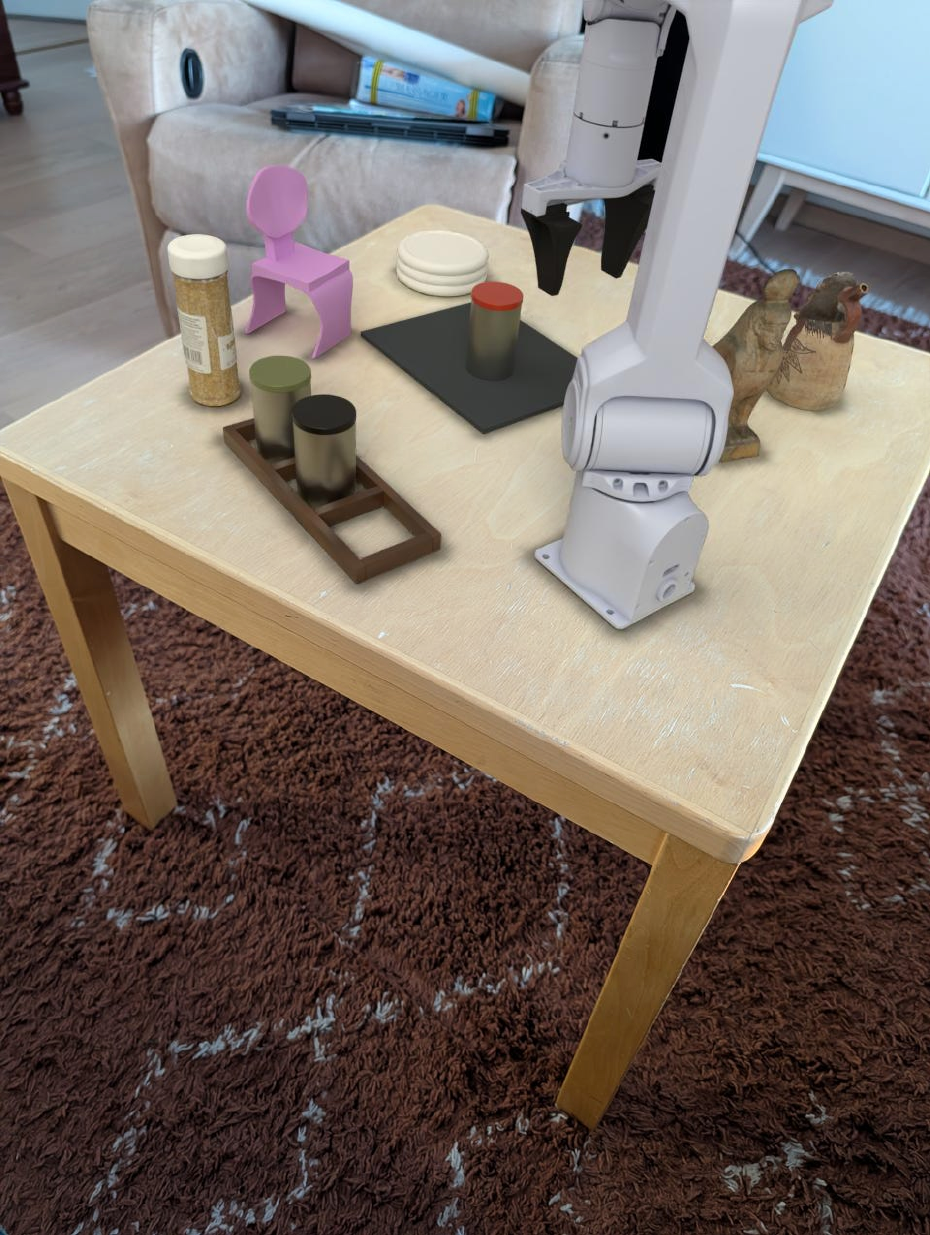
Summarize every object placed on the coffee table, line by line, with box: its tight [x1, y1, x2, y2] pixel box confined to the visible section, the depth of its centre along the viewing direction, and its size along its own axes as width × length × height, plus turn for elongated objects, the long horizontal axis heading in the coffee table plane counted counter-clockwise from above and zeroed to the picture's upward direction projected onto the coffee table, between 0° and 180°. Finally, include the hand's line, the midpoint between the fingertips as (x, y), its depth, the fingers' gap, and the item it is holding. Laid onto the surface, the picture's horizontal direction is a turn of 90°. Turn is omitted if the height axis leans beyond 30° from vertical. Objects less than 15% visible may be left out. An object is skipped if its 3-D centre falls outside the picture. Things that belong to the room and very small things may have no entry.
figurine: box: [766, 271, 869, 412], centre depth 86 cm, size 7×7×12 cm
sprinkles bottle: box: [167, 233, 242, 407], centre depth 77 cm, size 5×5×14 cm
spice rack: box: [222, 417, 442, 585], centre depth 72 cm, size 21×7×2 cm, turn 37°
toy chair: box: [244, 164, 354, 360], centre depth 85 cm, size 8×9×15 cm
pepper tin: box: [292, 393, 357, 510], centre depth 70 cm, size 5×5×8 cm
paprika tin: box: [465, 281, 525, 380], centre depth 85 cm, size 5×5×8 cm
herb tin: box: [248, 355, 312, 465], centre depth 74 cm, size 5×5×8 cm
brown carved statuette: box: [711, 268, 801, 463], centre depth 78 cm, size 12×6×18 cm, turn 16°
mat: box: [360, 301, 579, 435], centre depth 90 cm, size 20×16×1 cm
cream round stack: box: [396, 229, 490, 297], centre depth 101 cm, size 10×10×4 cm
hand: (580, 282), depth 82 cm, fingers open, 7 cm apart
